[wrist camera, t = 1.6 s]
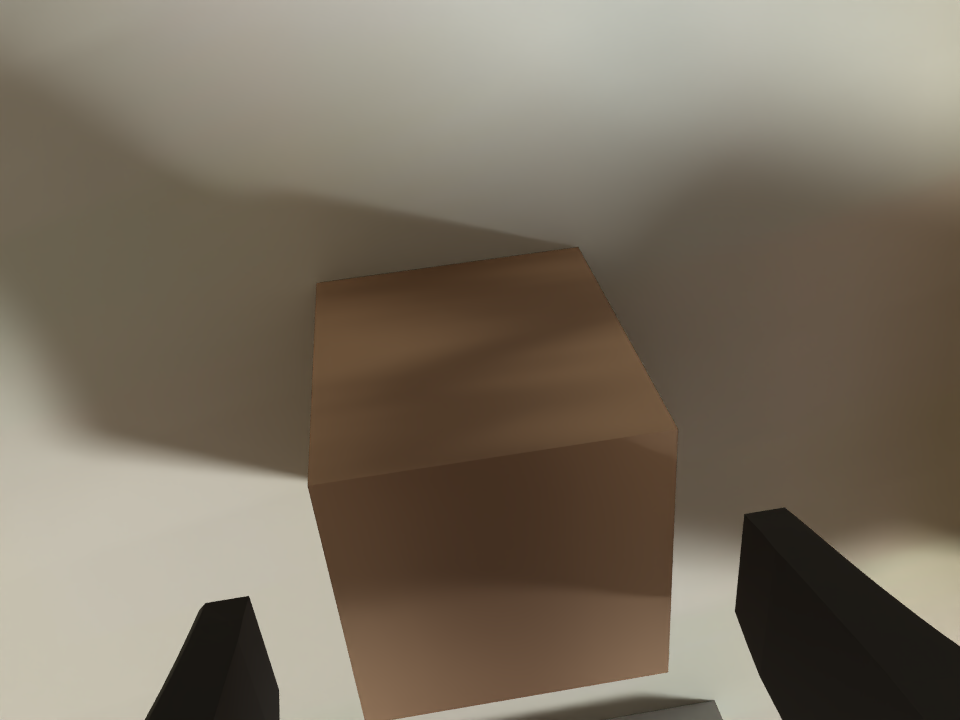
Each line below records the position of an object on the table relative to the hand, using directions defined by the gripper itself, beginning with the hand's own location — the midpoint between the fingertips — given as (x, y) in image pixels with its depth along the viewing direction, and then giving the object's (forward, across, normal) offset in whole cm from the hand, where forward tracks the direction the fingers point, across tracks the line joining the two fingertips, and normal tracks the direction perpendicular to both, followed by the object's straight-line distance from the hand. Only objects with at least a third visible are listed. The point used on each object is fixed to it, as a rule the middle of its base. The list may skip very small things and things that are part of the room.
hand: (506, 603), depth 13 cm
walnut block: (+6, 0, 0) cm, 6 cm away
